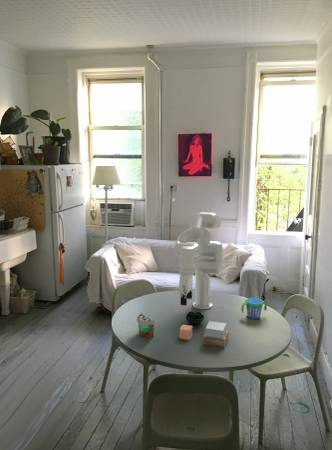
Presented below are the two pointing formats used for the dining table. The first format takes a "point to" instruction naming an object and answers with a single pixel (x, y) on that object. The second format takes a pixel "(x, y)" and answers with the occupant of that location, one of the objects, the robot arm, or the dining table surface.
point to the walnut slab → (216, 340)
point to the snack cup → (254, 307)
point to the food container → (145, 326)
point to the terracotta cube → (186, 332)
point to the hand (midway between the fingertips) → (186, 301)
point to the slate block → (215, 330)
